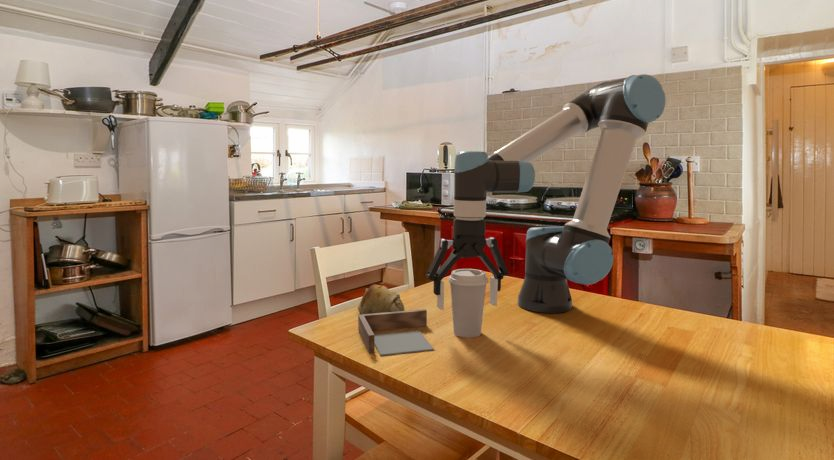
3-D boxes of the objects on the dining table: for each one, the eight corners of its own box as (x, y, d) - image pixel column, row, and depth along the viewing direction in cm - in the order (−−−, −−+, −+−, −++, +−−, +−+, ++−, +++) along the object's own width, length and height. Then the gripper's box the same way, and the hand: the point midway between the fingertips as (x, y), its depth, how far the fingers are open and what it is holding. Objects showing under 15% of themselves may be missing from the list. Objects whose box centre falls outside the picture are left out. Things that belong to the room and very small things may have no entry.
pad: (418, 331, 116) (418, 330, 116) (434, 350, 104) (434, 348, 104) (370, 336, 112) (370, 335, 112) (380, 355, 101) (380, 354, 101)
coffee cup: (486, 341, 109) (487, 278, 107) (444, 338, 111) (445, 275, 109) (488, 327, 119) (489, 269, 117) (450, 325, 120) (451, 267, 118)
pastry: (350, 309, 134) (350, 281, 133) (390, 303, 140) (390, 276, 139) (369, 323, 122) (369, 293, 121) (412, 316, 127) (413, 287, 126)
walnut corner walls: (425, 324, 121) (425, 309, 120) (444, 345, 107) (444, 328, 106) (358, 330, 116) (358, 314, 116) (369, 353, 102) (368, 335, 102)
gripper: (510, 215, 118) (507, 298, 121) (413, 217, 111) (412, 305, 114) (525, 218, 111) (521, 306, 114) (423, 221, 104) (421, 314, 107)
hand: (467, 306), depth 114 cm, fingers open, 13 cm apart
